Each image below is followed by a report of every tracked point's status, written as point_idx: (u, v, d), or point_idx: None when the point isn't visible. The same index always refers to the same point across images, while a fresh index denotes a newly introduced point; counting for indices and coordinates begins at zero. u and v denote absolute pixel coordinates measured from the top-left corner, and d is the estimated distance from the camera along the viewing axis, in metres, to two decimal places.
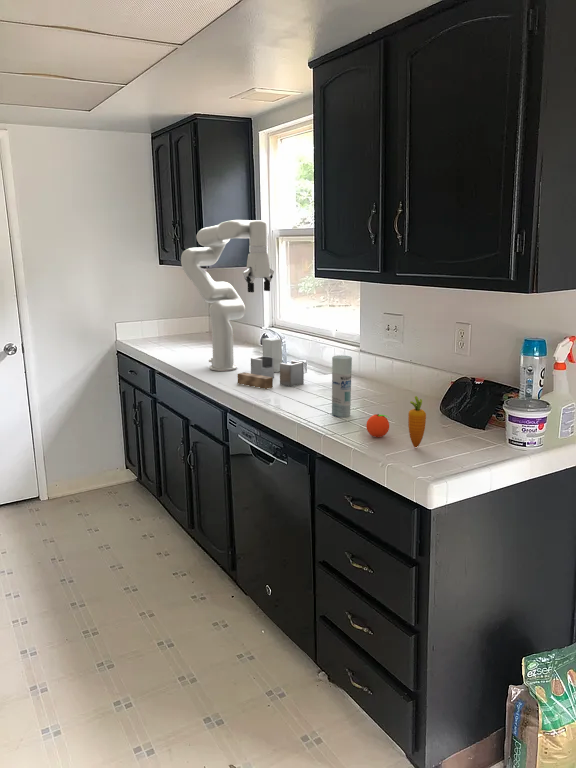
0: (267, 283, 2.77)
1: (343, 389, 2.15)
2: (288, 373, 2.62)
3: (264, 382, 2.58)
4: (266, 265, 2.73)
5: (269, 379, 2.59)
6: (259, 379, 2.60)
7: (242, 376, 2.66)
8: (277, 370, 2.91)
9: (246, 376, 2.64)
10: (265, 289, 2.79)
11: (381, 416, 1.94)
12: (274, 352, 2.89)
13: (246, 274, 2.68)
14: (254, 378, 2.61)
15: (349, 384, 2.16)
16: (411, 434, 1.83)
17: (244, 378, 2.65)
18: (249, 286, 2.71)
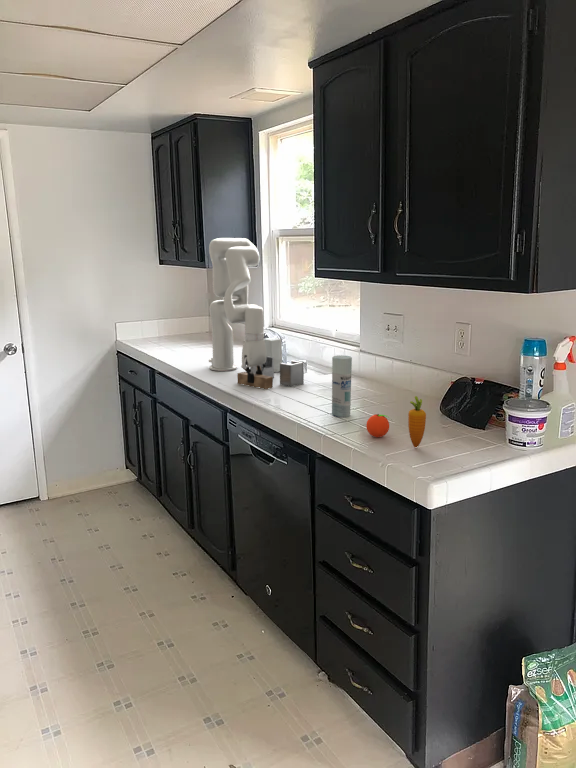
0: (259, 373, 2.64)
1: (343, 389, 2.15)
2: (288, 373, 2.62)
3: (264, 381, 2.58)
4: (262, 352, 2.62)
5: (269, 378, 2.59)
6: (259, 378, 2.59)
7: (242, 375, 2.66)
8: (277, 370, 2.91)
9: (246, 375, 2.64)
10: None
11: (381, 416, 1.94)
12: (274, 352, 2.89)
13: (245, 367, 2.58)
14: (254, 377, 2.61)
15: (349, 384, 2.16)
16: (411, 434, 1.83)
17: (244, 377, 2.65)
18: (249, 377, 2.61)
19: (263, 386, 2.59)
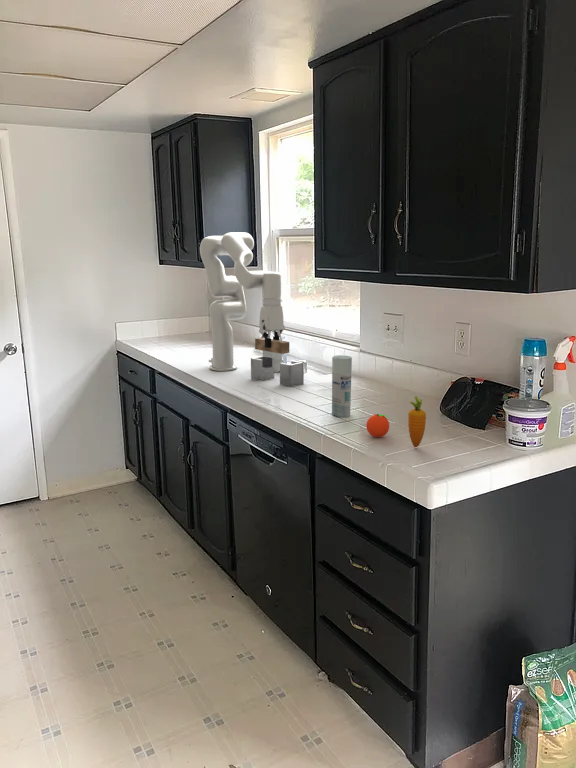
0: (276, 338, 2.68)
1: (343, 389, 2.15)
2: (288, 373, 2.62)
3: (281, 345, 2.61)
4: (279, 317, 2.65)
5: (286, 343, 2.62)
6: (276, 343, 2.63)
7: (259, 341, 2.69)
8: (277, 370, 2.91)
9: (263, 341, 2.68)
10: None
11: (381, 416, 1.94)
12: None
13: (262, 331, 2.62)
14: (271, 342, 2.65)
15: (349, 384, 2.16)
16: (411, 434, 1.83)
17: (261, 343, 2.69)
18: (266, 342, 2.65)
19: (280, 351, 2.62)
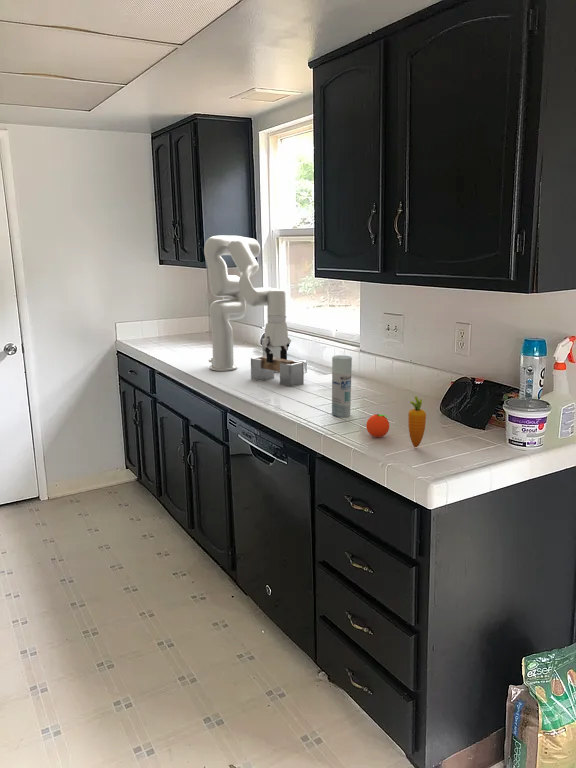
0: (284, 352, 2.72)
1: (343, 389, 2.15)
2: (288, 373, 2.62)
3: None
4: (284, 334, 2.68)
5: (290, 362, 2.65)
6: (280, 362, 2.66)
7: (264, 359, 2.73)
8: None
9: None
10: (282, 358, 2.74)
11: (381, 416, 1.94)
12: (274, 352, 2.89)
13: (265, 346, 2.64)
14: (276, 361, 2.68)
15: (349, 384, 2.16)
16: (411, 434, 1.83)
17: (266, 361, 2.72)
18: (268, 357, 2.66)
19: None
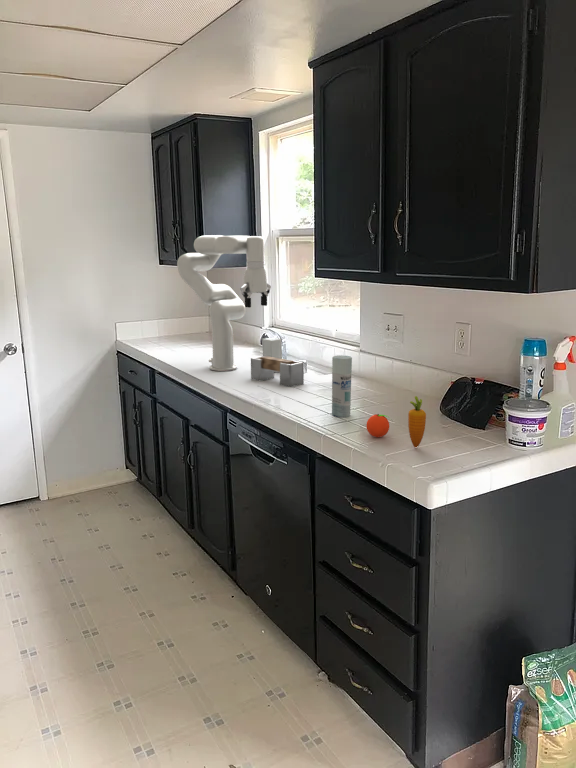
0: (264, 298, 2.80)
1: (343, 389, 2.15)
2: (288, 373, 2.62)
3: None
4: (263, 280, 2.76)
5: (290, 362, 2.65)
6: (280, 362, 2.66)
7: (264, 359, 2.73)
8: None
9: (268, 359, 2.71)
10: (262, 304, 2.82)
11: (381, 416, 1.94)
12: (274, 352, 2.89)
13: (243, 289, 2.70)
14: (276, 361, 2.68)
15: (349, 384, 2.16)
16: (411, 434, 1.83)
17: (266, 361, 2.72)
18: (246, 301, 2.73)
19: None
